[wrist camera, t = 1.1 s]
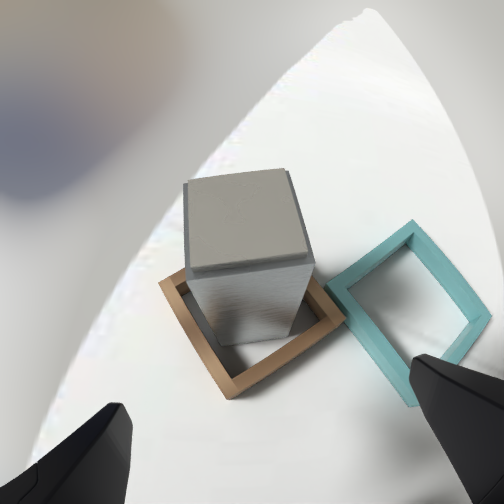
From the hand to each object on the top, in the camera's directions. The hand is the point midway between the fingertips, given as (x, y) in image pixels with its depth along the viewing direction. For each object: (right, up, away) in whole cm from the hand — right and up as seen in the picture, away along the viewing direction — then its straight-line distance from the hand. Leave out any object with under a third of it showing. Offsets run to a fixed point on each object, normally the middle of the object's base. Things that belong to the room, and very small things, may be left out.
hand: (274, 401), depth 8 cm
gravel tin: (-1, 0, +15) cm, 15 cm away
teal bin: (+13, -1, +15) cm, 19 cm away
